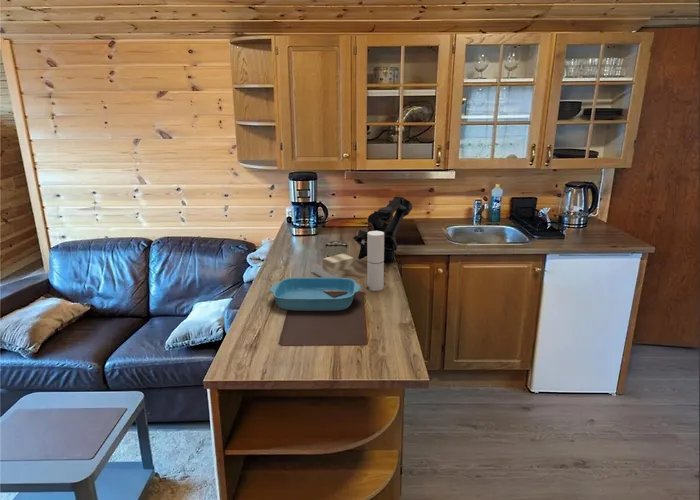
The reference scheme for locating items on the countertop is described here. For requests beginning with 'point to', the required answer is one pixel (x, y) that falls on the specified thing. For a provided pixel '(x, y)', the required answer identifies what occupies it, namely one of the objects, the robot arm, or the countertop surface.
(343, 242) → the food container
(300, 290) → the casserole dish
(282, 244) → the countertop surface
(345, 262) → the maple block
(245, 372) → the countertop surface
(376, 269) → the cylindrical container
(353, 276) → the walnut board
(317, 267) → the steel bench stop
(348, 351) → the countertop surface
